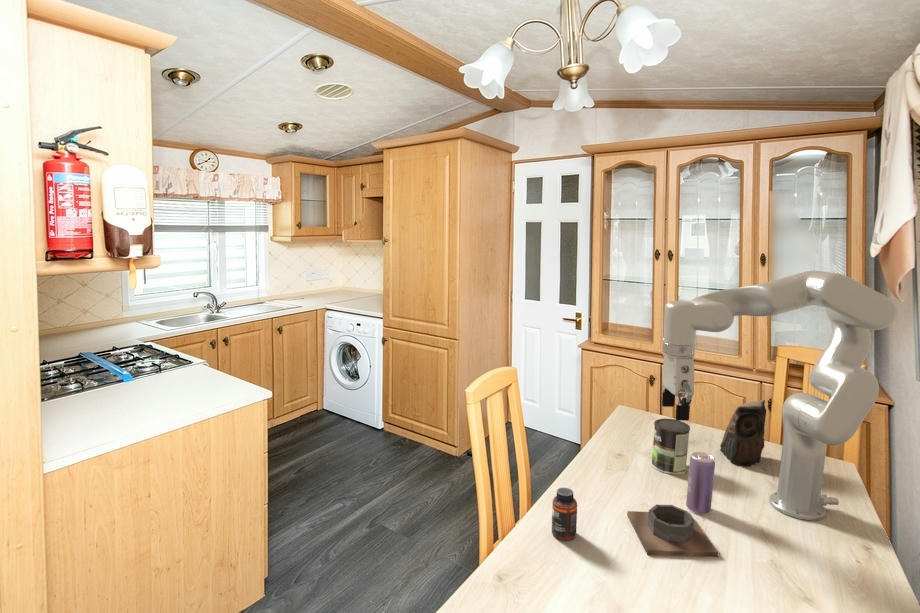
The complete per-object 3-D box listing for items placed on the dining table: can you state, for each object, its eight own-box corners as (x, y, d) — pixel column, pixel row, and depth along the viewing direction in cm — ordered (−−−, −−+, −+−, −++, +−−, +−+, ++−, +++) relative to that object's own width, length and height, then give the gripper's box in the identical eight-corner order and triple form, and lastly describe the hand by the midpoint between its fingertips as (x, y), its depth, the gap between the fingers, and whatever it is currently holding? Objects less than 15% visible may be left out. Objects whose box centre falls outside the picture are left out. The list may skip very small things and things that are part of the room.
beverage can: (713, 516, 132) (718, 462, 129) (689, 513, 133) (693, 460, 130) (707, 504, 137) (711, 452, 135) (683, 501, 139) (688, 450, 136)
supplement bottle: (577, 529, 125) (579, 487, 124) (574, 543, 120) (576, 499, 118) (553, 525, 127) (555, 483, 126) (549, 538, 122) (551, 495, 120)
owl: (761, 455, 167) (767, 397, 164) (770, 472, 156) (777, 410, 153) (719, 449, 172) (724, 393, 169) (724, 465, 160) (730, 405, 157)
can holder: (689, 517, 131) (690, 498, 130) (717, 556, 116) (719, 536, 115) (627, 515, 132) (628, 497, 131) (647, 554, 116) (648, 534, 115)
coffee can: (655, 473, 154) (658, 430, 152) (648, 458, 164) (650, 417, 162) (691, 476, 153) (694, 432, 151) (681, 460, 163) (684, 419, 161)
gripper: (708, 358, 121) (703, 426, 123) (680, 341, 138) (676, 401, 140) (676, 358, 121) (672, 425, 124) (652, 341, 138) (649, 401, 141)
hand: (674, 412), depth 132 cm, fingers open, 9 cm apart
